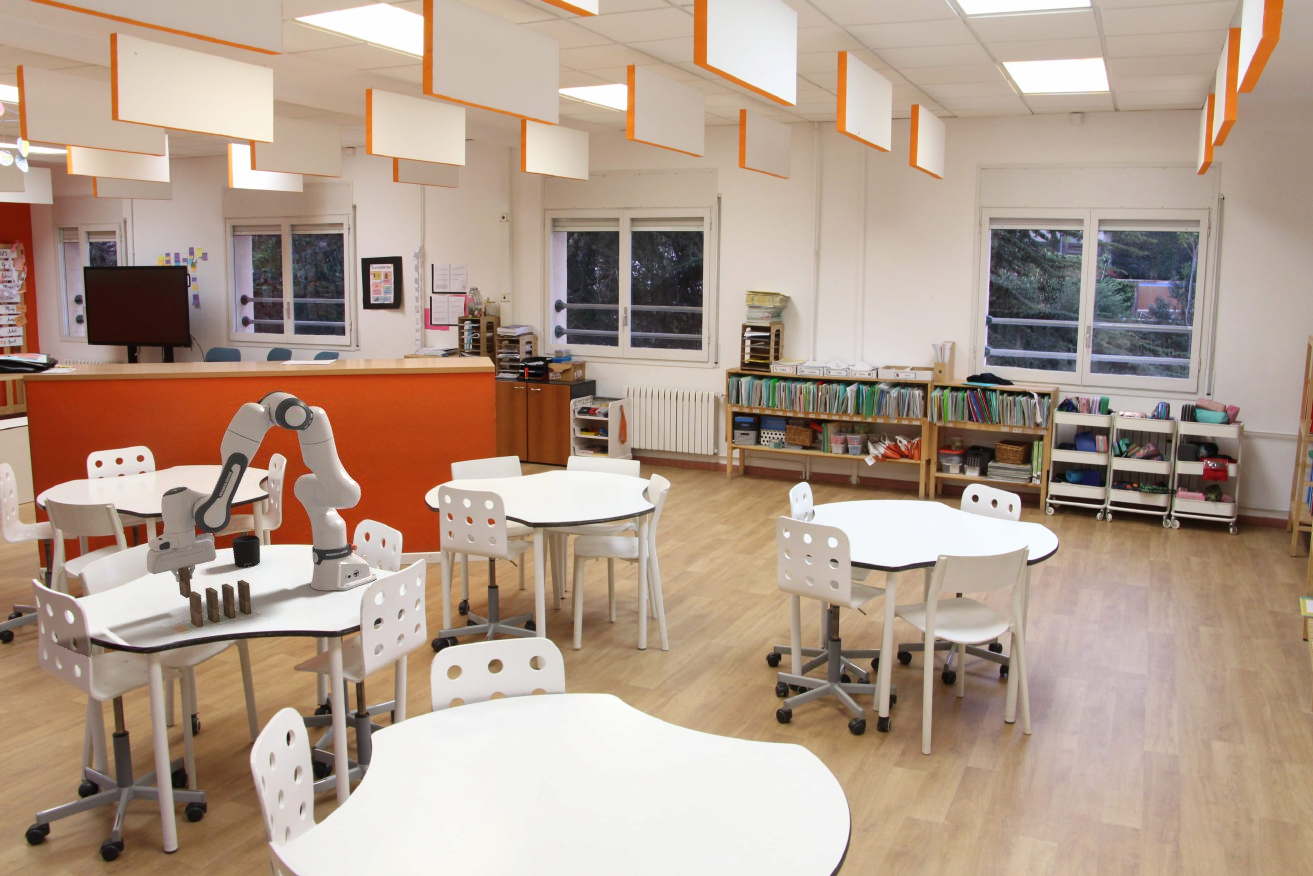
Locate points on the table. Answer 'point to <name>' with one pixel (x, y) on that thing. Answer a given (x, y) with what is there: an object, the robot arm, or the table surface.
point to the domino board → (209, 622)
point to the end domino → (184, 581)
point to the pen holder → (246, 550)
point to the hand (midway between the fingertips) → (184, 580)
